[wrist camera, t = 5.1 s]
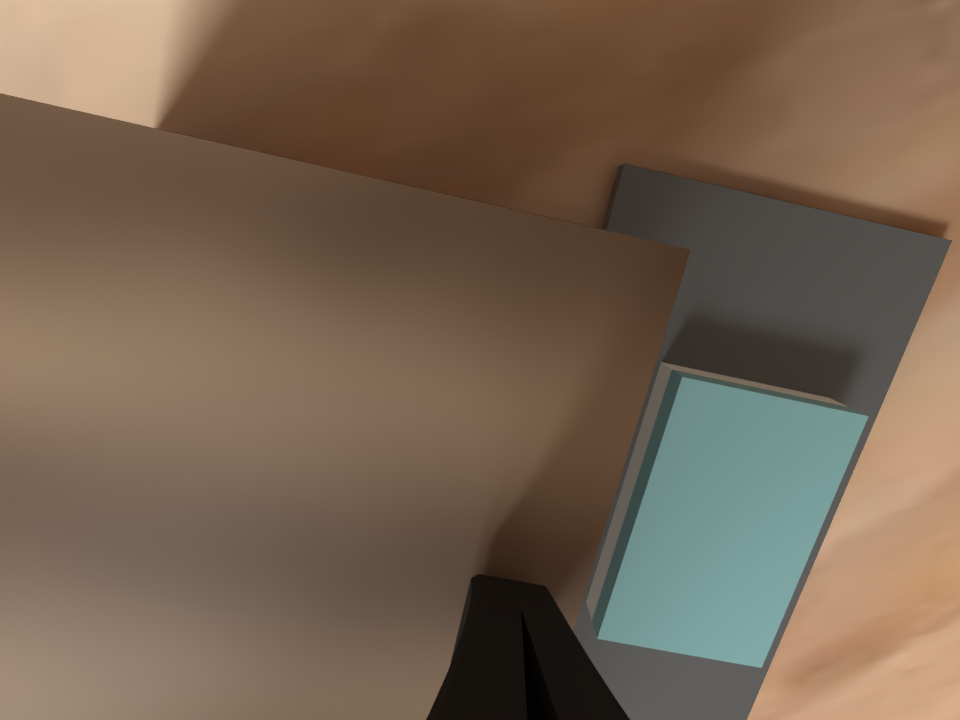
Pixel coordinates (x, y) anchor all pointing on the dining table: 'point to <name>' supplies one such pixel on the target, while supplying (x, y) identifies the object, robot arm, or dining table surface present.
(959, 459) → the dining table surface
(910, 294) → the mat
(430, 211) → the riser
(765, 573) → the teal and white sponge
